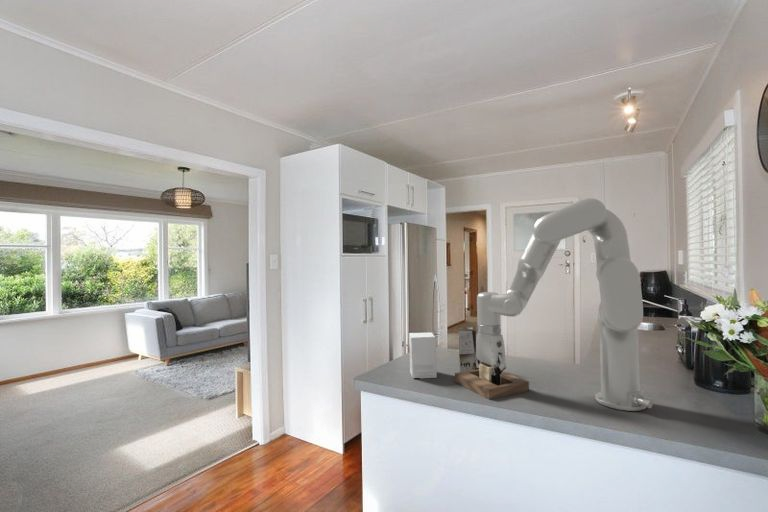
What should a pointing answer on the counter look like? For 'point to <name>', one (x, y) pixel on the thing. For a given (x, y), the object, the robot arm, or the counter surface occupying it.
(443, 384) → the counter surface
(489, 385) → the pocket block
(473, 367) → the coffee box
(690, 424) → the counter surface
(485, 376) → the maple block
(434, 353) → the supplement box
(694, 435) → the counter surface
